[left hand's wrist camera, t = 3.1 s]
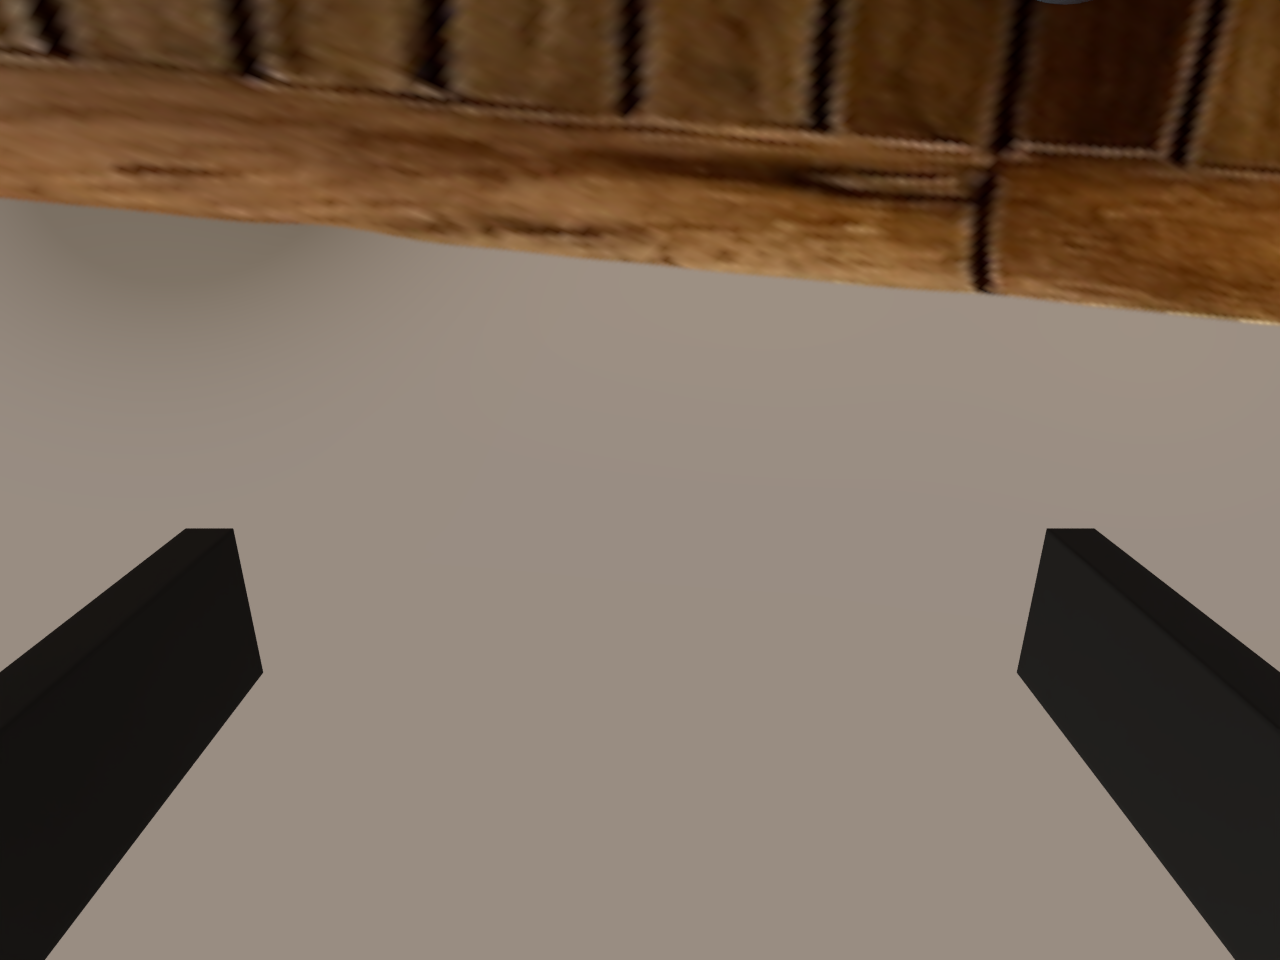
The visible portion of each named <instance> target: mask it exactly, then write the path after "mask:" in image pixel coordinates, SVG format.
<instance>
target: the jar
mask: <svg viewBox="0 0 1280 960" xmlns="http://www.w3.org/2000/svg"><path fill="white" fill-rule="evenodd" d="M1038 1H1042V2H1045V3H1053V4H1077V3H1083V2H1088V1H1092V0H1038Z"/></svg>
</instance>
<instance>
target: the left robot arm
mask: <svg viewBox="0 0 1280 960" xmlns="http://www.w3.org/2000/svg"><path fill="white" fill-rule="evenodd" d="M262 673H263V669H262V665H261V660H260V655H259V650H258V645H257V641H256V636H255V631H254V626H253V622H252V617H251V612H250V607H249V602H248V597H247V593H246V588H245V583H244V578H243V573H242V569H241V564H240V559H239V554H238V549H237V545H236V540H235V535H234V530H233V529H184V530H183V531H182V532H181V533H179V534H178V535H177V536H176V537H174V538H173V539H172V540H170V541H169V542H168V543H166V544H165V545H164V546H163V547H161V548H160V549H159V550H157V551H156V552H155V553H154V554H152V555H151V556H150V557H148V558H147V559H146V560H144V561H143V562H142V563H141V564H139V565H138V566H137V567H135V568H134V569H133V570H132V571H130V572H129V573H128V574H126V575H125V576H124V577H122V578H121V579H120V580H119V581H117V582H116V583H115V584H113V585H112V586H111V587H110V588H108V589H107V590H106V591H104V592H103V593H102V594H101V595H99V596H98V597H97V598H95V599H94V600H93V601H92V602H90V603H89V604H88V605H86V606H85V607H84V608H83V609H81V610H80V611H79V612H77V613H76V614H75V615H74V616H72V617H71V618H70V619H68V620H67V621H66V622H64V623H63V624H62V625H61V626H59V627H58V628H57V629H55V630H54V631H53V632H52V633H50V634H49V635H48V636H46V637H45V638H44V639H43V640H41V641H40V642H39V643H37V644H36V645H35V646H33V647H32V648H31V649H30V650H28V651H27V652H26V653H24V654H23V655H22V656H21V657H19V658H18V659H17V660H15V661H14V662H13V663H11V664H10V665H9V666H8V667H6V668H5V669H4V670H2V671H1V672H0V960H45V959H46V958H47V956H48V955H49V954H50V952H51V951H52V950H53V948H54V947H55V946H56V944H57V943H58V942H59V940H60V939H61V938H62V936H63V935H64V934H65V933H66V931H67V930H68V929H69V927H70V926H71V925H72V923H73V922H74V921H75V919H76V918H77V917H78V915H79V914H80V913H81V912H82V910H83V909H84V908H85V906H86V905H87V904H88V902H89V901H90V900H91V898H92V897H93V896H94V894H95V893H96V892H97V890H98V889H99V888H100V887H101V885H102V884H103V883H104V881H105V880H106V879H107V877H108V876H109V875H110V873H111V872H112V871H113V869H114V868H115V867H116V865H117V864H118V863H119V862H120V860H121V859H122V858H123V856H124V855H125V854H126V852H127V851H128V850H129V848H130V847H131V846H132V844H133V843H134V842H135V840H136V839H137V838H138V836H139V835H140V834H141V833H142V831H143V830H144V829H145V827H146V826H147V825H148V823H149V822H150V821H151V819H152V818H153V817H154V815H155V814H156V813H157V812H158V810H159V809H160V808H161V806H162V805H163V804H164V802H165V801H166V800H167V798H168V797H169V796H170V794H171V793H172V792H173V790H174V789H175V788H176V787H177V785H178V784H179V783H180V781H181V780H182V779H183V777H184V776H185V775H186V773H187V772H188V771H189V769H190V768H191V767H192V765H193V764H194V763H195V761H196V760H197V759H198V758H199V756H200V755H201V754H202V752H203V751H204V750H205V748H206V747H207V746H208V744H209V743H210V742H211V740H212V739H213V738H214V737H215V735H216V734H217V733H218V731H219V730H220V729H221V727H222V726H223V725H224V723H225V722H226V721H227V719H228V718H229V717H230V715H231V714H232V713H233V712H234V710H235V709H236V707H237V706H238V705H239V704H240V702H241V701H242V700H243V698H244V697H245V696H246V694H247V693H248V692H249V690H250V689H251V688H252V686H253V685H254V684H255V682H256V681H257V680H258V679H259V677H260V676H261V675H262ZM1017 673H1018V675H1019V676H1020V677H1021V679H1022V680H1023V681H1024V683H1025V684H1026V685H1027V686H1028V688H1029V689H1030V690H1031V692H1032V693H1033V694H1034V696H1035V697H1036V698H1037V700H1038V701H1039V702H1040V704H1041V705H1042V706H1043V708H1044V709H1045V710H1046V712H1047V713H1048V714H1049V715H1050V717H1051V718H1052V719H1053V721H1054V722H1055V723H1056V725H1057V726H1058V727H1059V729H1060V730H1061V731H1062V732H1063V734H1064V735H1065V737H1066V738H1067V739H1068V740H1069V742H1070V743H1071V744H1072V746H1073V747H1074V748H1075V750H1076V751H1077V752H1078V754H1079V755H1080V756H1081V758H1082V759H1083V760H1084V761H1085V763H1086V764H1087V765H1088V767H1089V768H1090V769H1091V771H1092V772H1093V773H1094V775H1095V776H1096V777H1097V779H1098V780H1099V781H1100V783H1101V784H1102V785H1103V786H1104V788H1105V789H1106V790H1107V792H1108V793H1109V794H1110V796H1111V797H1112V798H1113V800H1114V801H1115V802H1116V804H1117V805H1118V806H1119V808H1120V809H1121V810H1122V812H1123V813H1124V814H1125V815H1126V817H1127V818H1128V819H1129V821H1130V822H1131V823H1132V825H1133V826H1134V827H1135V829H1136V830H1137V831H1138V833H1139V834H1140V835H1141V836H1142V838H1143V839H1144V840H1145V842H1146V843H1147V844H1148V846H1149V847H1150V848H1151V850H1152V851H1153V852H1154V854H1155V855H1156V856H1157V857H1158V859H1159V860H1160V861H1161V863H1162V864H1163V865H1164V867H1165V868H1166V869H1167V871H1168V872H1169V873H1170V875H1171V876H1172V877H1173V879H1174V880H1175V881H1176V883H1177V884H1178V885H1179V886H1180V888H1181V889H1182V890H1183V892H1184V893H1185V894H1186V896H1187V897H1188V898H1189V900H1190V901H1191V902H1192V904H1193V905H1194V906H1195V908H1196V909H1197V910H1198V912H1199V913H1200V914H1201V915H1202V917H1203V918H1204V919H1205V921H1206V922H1207V923H1208V925H1209V926H1210V927H1211V929H1212V930H1213V931H1214V933H1215V934H1216V935H1217V936H1218V938H1219V939H1220V940H1221V942H1222V943H1223V944H1224V946H1225V947H1226V948H1227V950H1228V951H1229V952H1230V953H1231V955H1232V956H1233V958H1234V959H1235V960H1280V672H1279V671H1278V670H1276V669H1275V668H1274V667H1272V666H1271V665H1270V664H1269V663H1267V662H1266V661H1265V660H1263V659H1262V658H1261V657H1260V656H1258V655H1257V654H1256V653H1254V652H1253V651H1252V650H1250V649H1249V648H1248V647H1246V646H1245V645H1244V644H1243V643H1241V642H1240V641H1239V640H1238V639H1236V638H1235V637H1234V636H1232V635H1231V634H1230V633H1229V632H1227V631H1226V630H1225V629H1223V628H1222V627H1221V626H1219V625H1218V624H1217V623H1216V622H1214V621H1213V620H1212V619H1210V618H1209V617H1208V616H1207V615H1205V614H1204V613H1203V612H1201V611H1200V610H1199V609H1198V608H1196V607H1195V606H1194V605H1192V604H1191V603H1190V602H1189V601H1187V600H1186V599H1185V598H1183V597H1182V596H1181V595H1179V594H1178V593H1177V592H1176V591H1174V590H1173V589H1172V588H1170V587H1169V586H1168V585H1167V584H1165V583H1164V582H1163V581H1161V580H1160V579H1159V578H1157V577H1156V576H1155V575H1154V574H1152V573H1151V572H1150V571H1148V570H1147V569H1146V568H1145V567H1143V566H1142V565H1141V564H1139V563H1138V562H1137V561H1135V560H1134V559H1133V558H1132V557H1130V556H1129V555H1128V554H1127V553H1125V552H1124V551H1123V550H1121V549H1120V548H1119V547H1117V546H1116V545H1115V544H1113V543H1112V542H1111V541H1110V540H1108V539H1107V538H1106V537H1105V536H1103V535H1102V534H1101V533H1099V532H1098V531H1097V530H1096V529H1047V530H1046V535H1045V540H1044V545H1043V549H1042V554H1041V559H1040V564H1039V569H1038V573H1037V578H1036V583H1035V588H1034V593H1033V597H1032V602H1031V607H1030V612H1029V617H1028V621H1027V626H1026V631H1025V636H1024V641H1023V645H1022V650H1021V655H1020V660H1019V665H1018V670H1017Z"/></svg>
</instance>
